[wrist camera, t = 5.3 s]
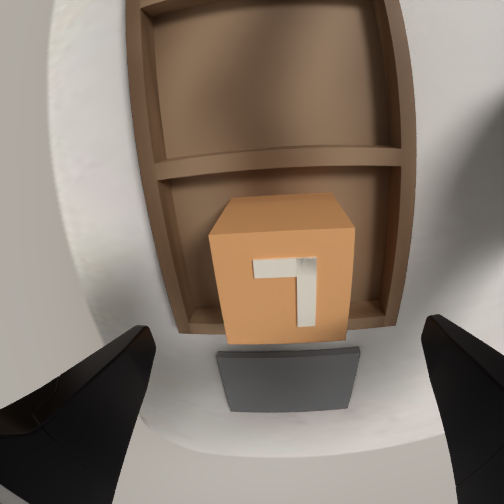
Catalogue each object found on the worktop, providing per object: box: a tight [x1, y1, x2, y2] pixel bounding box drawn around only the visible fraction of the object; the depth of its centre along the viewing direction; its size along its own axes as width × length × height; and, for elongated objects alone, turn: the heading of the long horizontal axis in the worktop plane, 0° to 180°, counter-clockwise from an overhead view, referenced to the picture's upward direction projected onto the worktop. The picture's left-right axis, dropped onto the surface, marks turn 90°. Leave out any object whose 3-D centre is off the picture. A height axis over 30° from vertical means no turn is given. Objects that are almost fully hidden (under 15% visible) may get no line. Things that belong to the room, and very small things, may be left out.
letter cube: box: [209, 193, 355, 344], centre depth 13 cm, size 5×5×5 cm
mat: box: [216, 347, 360, 412], centre depth 20 cm, size 10×7×1 cm
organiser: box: [126, 0, 416, 335], centre depth 11 cm, size 13×28×2 cm, turn 5°
